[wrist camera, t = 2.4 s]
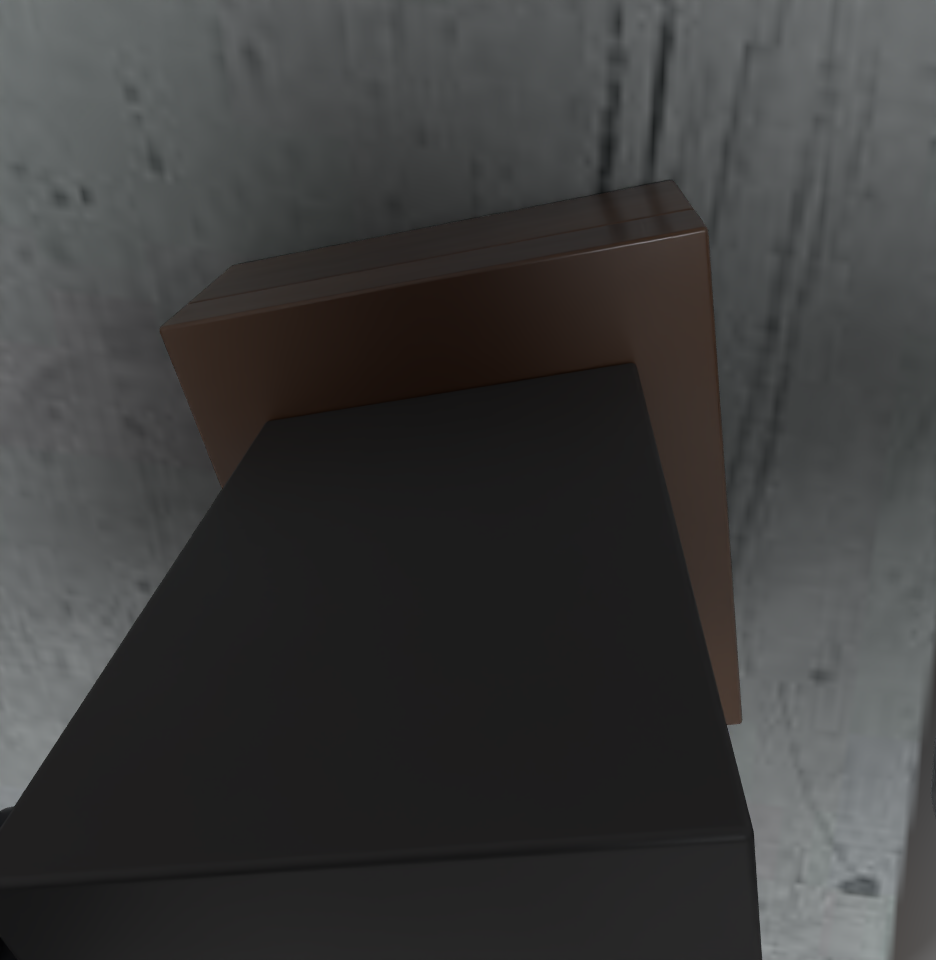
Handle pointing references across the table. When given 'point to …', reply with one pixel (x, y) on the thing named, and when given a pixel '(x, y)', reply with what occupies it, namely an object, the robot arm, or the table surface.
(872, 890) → the table surface
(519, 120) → the table surface
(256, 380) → the brown wooden tile
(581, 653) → the black rectangular block
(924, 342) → the table surface
